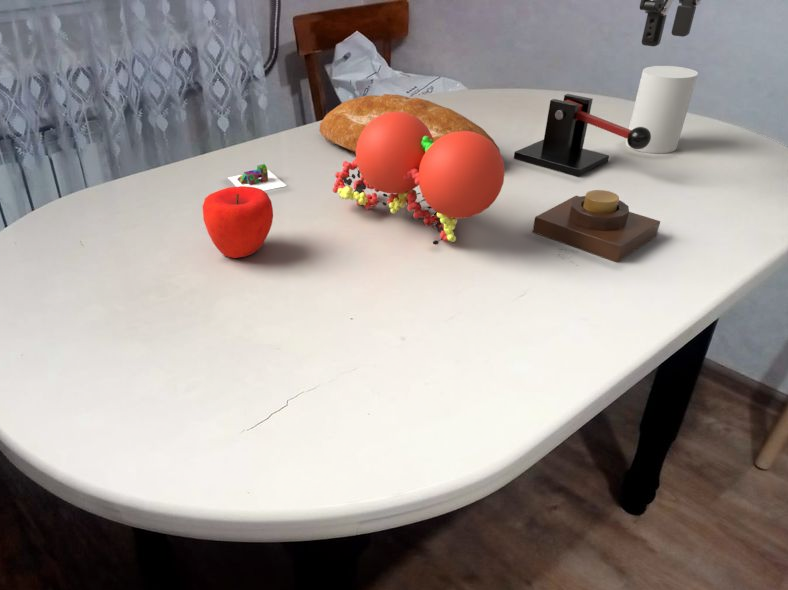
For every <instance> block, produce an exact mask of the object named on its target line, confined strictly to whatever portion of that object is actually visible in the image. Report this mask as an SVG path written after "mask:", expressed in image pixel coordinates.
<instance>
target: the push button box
mask: <svg viewBox="0 0 788 590" xmlns="http://www.w3.org/2000/svg"><path fill="white" fill-rule="evenodd" d="M585 196H586V195H582V196H579V195H574V196H573V197H570V198H568V199H567V200H565V201H562V202H560V203H558V204H557V205H554V206H553V207H551V208H549V209H547V210H546V211H543V212H542V213H540V214H538V215H536V216H535V217H534V221H533V227H532V233H534V234H537V235H540V236H543V237H545V238H548V239H551V240H554V241H556V242H559V243H562V244H565V245H568V246H571V247H573V248H576V249H578V250H582V251H584V252H586V253H587V252H588V253H589V254H592V255H596V256H599V257H601V258H604V259H607V260H609V261H612V262H615V263H619V262H620V261H622V260H623V259H625V258H626V257H627V256H629V255H631V254H632V253H634V252H635V251H636V250H638V249H639V248H642V246H644V245H646V244H647V243H648V242H650V241H651V240H653V239H654V238H656V237H657V234H658V231H659V228H660V224H661V221H660V220H658V219H655V218H651V217H648V216H645V215H642V214H638V213H635V212H632V211H630V206H629V205H628V204H626V203H625V202H623V201H622V200H620V199H619V201H618V205H617V209H616V212H614V213H607V214H604V213H594V212H591V211H588V210H586V209H585V208H583V205H584V200H585Z"/></svg>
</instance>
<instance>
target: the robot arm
mask: <svg viewBox="0 0 788 590" xmlns="http://www.w3.org/2000/svg"><path fill="white" fill-rule="evenodd" d="M673 2H674V0H640V4H639V10H640V11H644V13H645V14H647V15H646V18H645V19H646V20H645V23H644V29H643V32H642V38H641V45H643V46H647V47H657V46H659V45H660V44H661V41H662V37H663V33H664V28H665V24H666V20H667V14H668V12H669V10H670V8H671V6H672V4H673ZM701 2H702V0H678V4H679V5H677V7H676V12H675V16H674V20H673V24H672V27H671V35H672V36H675V37H681V38H682V37H687V36H688V35H689V34H690V33H691V28H692V25H693V21H694V17H695V13H696V10H697V6H699V5H700V4H701Z"/></svg>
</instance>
